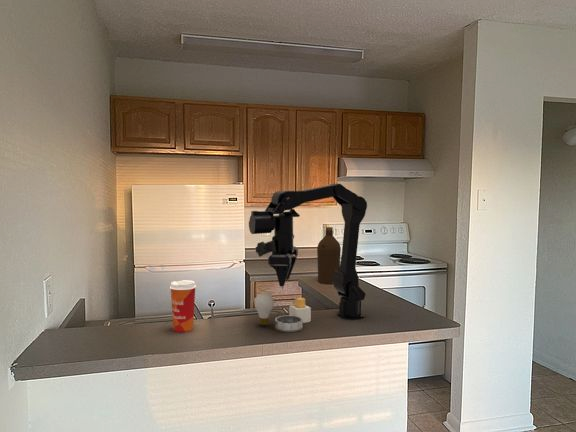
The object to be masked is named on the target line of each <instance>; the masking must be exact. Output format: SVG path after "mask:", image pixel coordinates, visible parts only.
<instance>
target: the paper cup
mask: <svg viewBox="0 0 576 432" xmlns="http://www.w3.org/2000/svg"><path fill="white" fill-rule="evenodd" d="M196 288H197V284H196V282H195V281H194V280H190V279H189V280H188V279H183V280H176V281H175V280H174V281H171V282H170V286H169V289H170V298H171V300H170V301H171V314H172V316H171V317H172V327H173V328H172V329H173V331H174V332H175V333H188V332H190V331H191V332H192V331H193V328H194V318H195V316H194V315H195V303H196V302H195V299H196Z"/></svg>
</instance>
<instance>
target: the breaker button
mask: <svg viewBox="0 0 576 432" xmlns="http://www.w3.org/2000/svg"><path fill="white" fill-rule="evenodd" d="M294 305H295V307H296V308H305V305H306V299H305V298H304V297H294Z"/></svg>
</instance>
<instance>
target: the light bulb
mask: <svg viewBox="0 0 576 432" xmlns="http://www.w3.org/2000/svg"><path fill="white" fill-rule="evenodd" d="M274 304H275V302H274V298H273V297H272V295H270V294H269V293H266V292H262V293H259V294H258V295H256V297H255V299H254V304H253V305H254V308H255V309H256V312H257V313H258V317H259V318H258V319H259V324H260V325H261V326H262V327H265V326H267V325H268V324H269V317H270V314H271V311H272V309H273V308H274V306H275V305H274Z"/></svg>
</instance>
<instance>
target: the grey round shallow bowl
mask: <svg viewBox="0 0 576 432" xmlns="http://www.w3.org/2000/svg"><path fill="white" fill-rule="evenodd" d="M303 324H304V323H303V319H302V318H300V317H298V316H291V315H289V314H288V315H287V314H286V315H279V316H277V317H275V318H274V329H275V330H276V331H278V332H281V333H287V334H289V333H291V334H292V333H297V332H300V331H302V330H303V329H304V328H303V326H304V325H303Z"/></svg>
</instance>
